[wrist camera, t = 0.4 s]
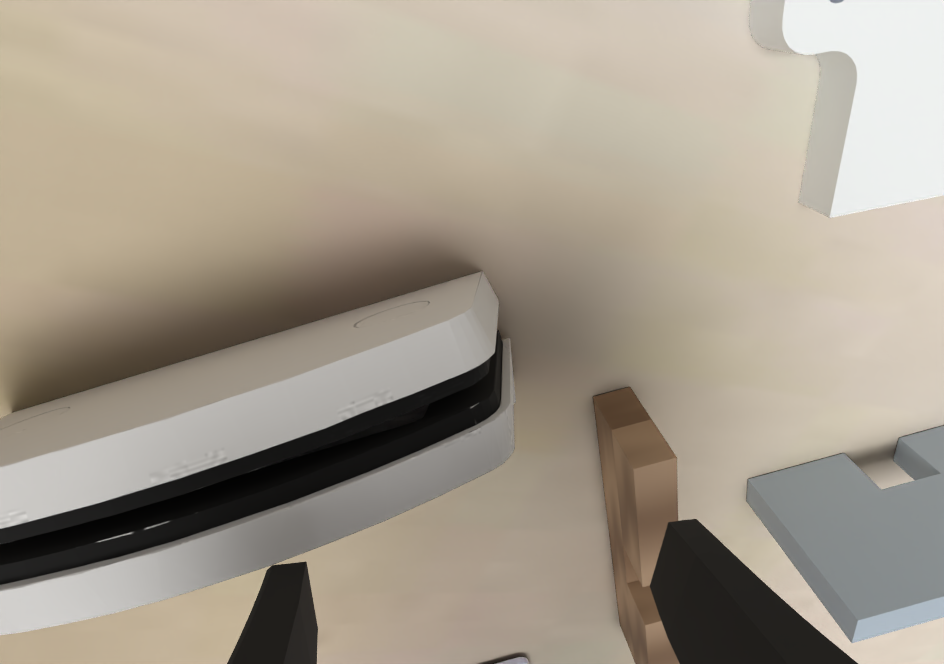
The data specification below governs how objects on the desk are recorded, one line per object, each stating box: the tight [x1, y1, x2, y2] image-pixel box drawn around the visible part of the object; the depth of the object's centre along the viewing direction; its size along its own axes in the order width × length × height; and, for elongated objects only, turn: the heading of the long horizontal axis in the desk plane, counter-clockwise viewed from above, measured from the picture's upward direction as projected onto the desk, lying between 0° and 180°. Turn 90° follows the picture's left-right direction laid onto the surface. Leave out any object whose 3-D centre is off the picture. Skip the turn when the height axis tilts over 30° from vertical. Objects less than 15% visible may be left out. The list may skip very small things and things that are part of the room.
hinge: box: [0, 271, 516, 635], centre depth 16 cm, size 17×5×10 cm, turn 104°
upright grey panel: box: [746, 426, 944, 643], centre depth 24 cm, size 2×12×7 cm, turn 102°
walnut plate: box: [593, 387, 680, 664], centre depth 25 cm, size 16×2×4 cm, turn 12°
